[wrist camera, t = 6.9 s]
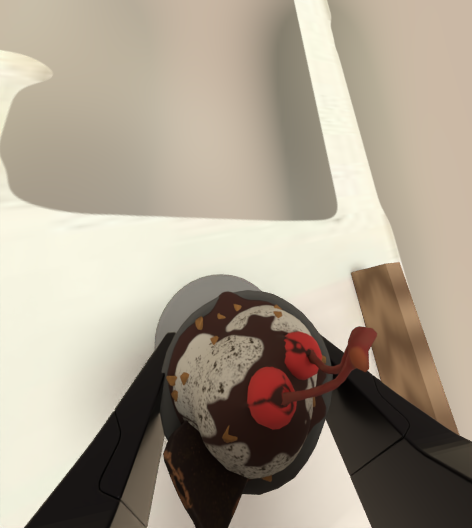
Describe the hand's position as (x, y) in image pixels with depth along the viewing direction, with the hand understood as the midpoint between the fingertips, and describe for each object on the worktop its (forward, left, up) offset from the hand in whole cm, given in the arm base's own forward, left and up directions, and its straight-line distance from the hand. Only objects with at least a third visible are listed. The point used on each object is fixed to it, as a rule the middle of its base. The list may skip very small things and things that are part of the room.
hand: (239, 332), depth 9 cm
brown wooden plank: (-5, -20, -12) cm, 24 cm away
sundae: (-1, 0, -8) cm, 8 cm away
